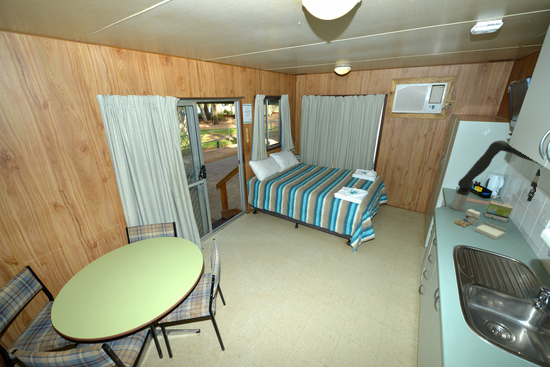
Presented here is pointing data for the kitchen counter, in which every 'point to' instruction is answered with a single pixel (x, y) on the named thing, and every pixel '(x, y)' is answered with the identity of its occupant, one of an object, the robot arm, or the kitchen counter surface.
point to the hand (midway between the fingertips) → (531, 200)
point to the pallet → (461, 223)
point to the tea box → (498, 210)
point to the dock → (490, 230)
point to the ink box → (472, 216)
